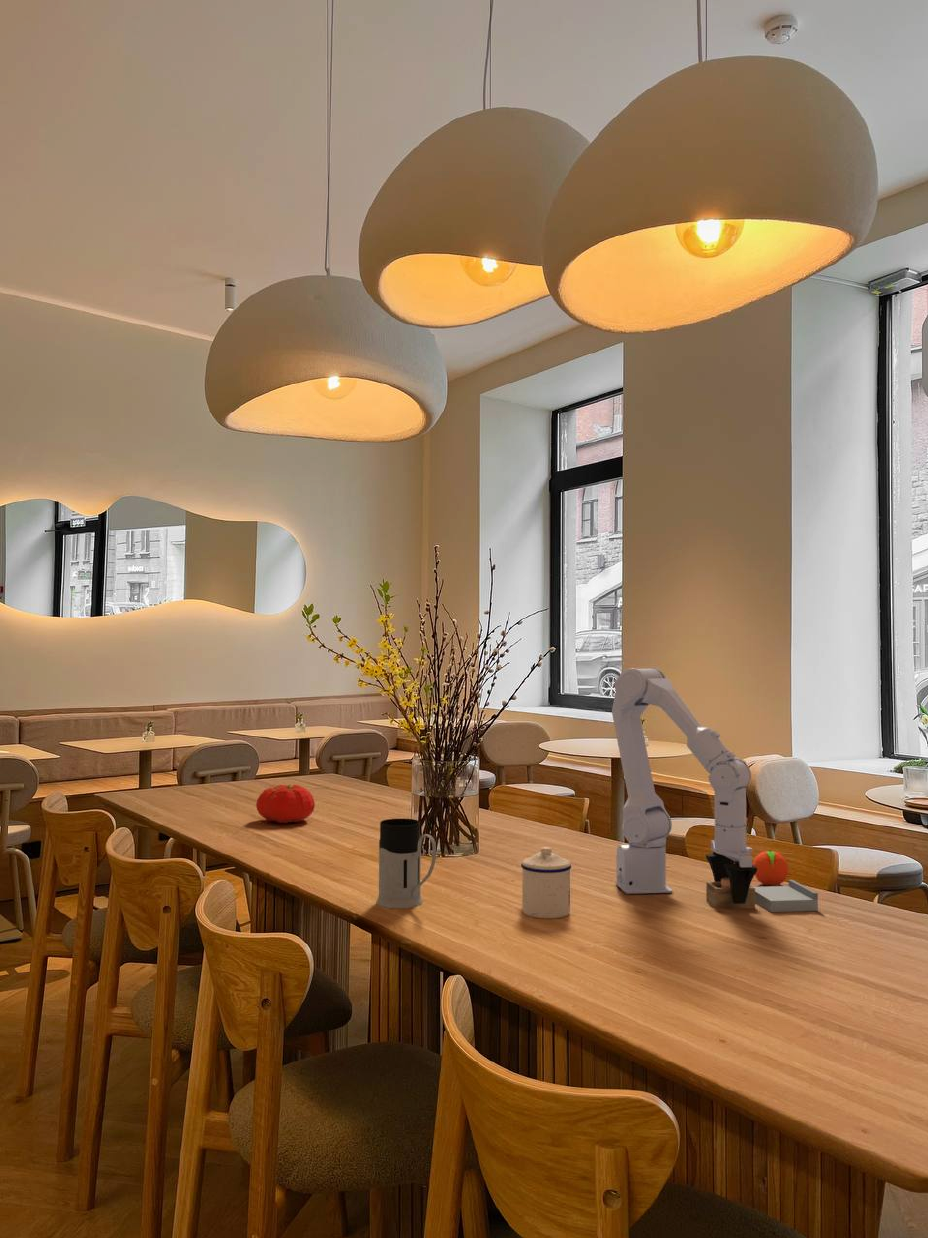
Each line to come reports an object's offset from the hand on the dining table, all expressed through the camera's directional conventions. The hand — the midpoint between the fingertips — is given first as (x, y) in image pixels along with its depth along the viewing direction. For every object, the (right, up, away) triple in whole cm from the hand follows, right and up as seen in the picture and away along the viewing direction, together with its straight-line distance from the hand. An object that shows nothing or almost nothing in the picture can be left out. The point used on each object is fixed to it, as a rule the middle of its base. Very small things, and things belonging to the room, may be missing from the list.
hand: (730, 897), depth 171 cm
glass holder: (-60, -1, -1) cm, 60 cm away
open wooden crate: (0, -2, 0) cm, 2 cm away
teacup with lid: (-36, -1, -4) cm, 36 cm away
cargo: (0, +1, 0) cm, 1 cm away
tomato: (-99, -4, +83) cm, 129 cm away
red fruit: (+12, -2, +14) cm, 19 cm away
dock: (+10, -2, +1) cm, 10 cm away
